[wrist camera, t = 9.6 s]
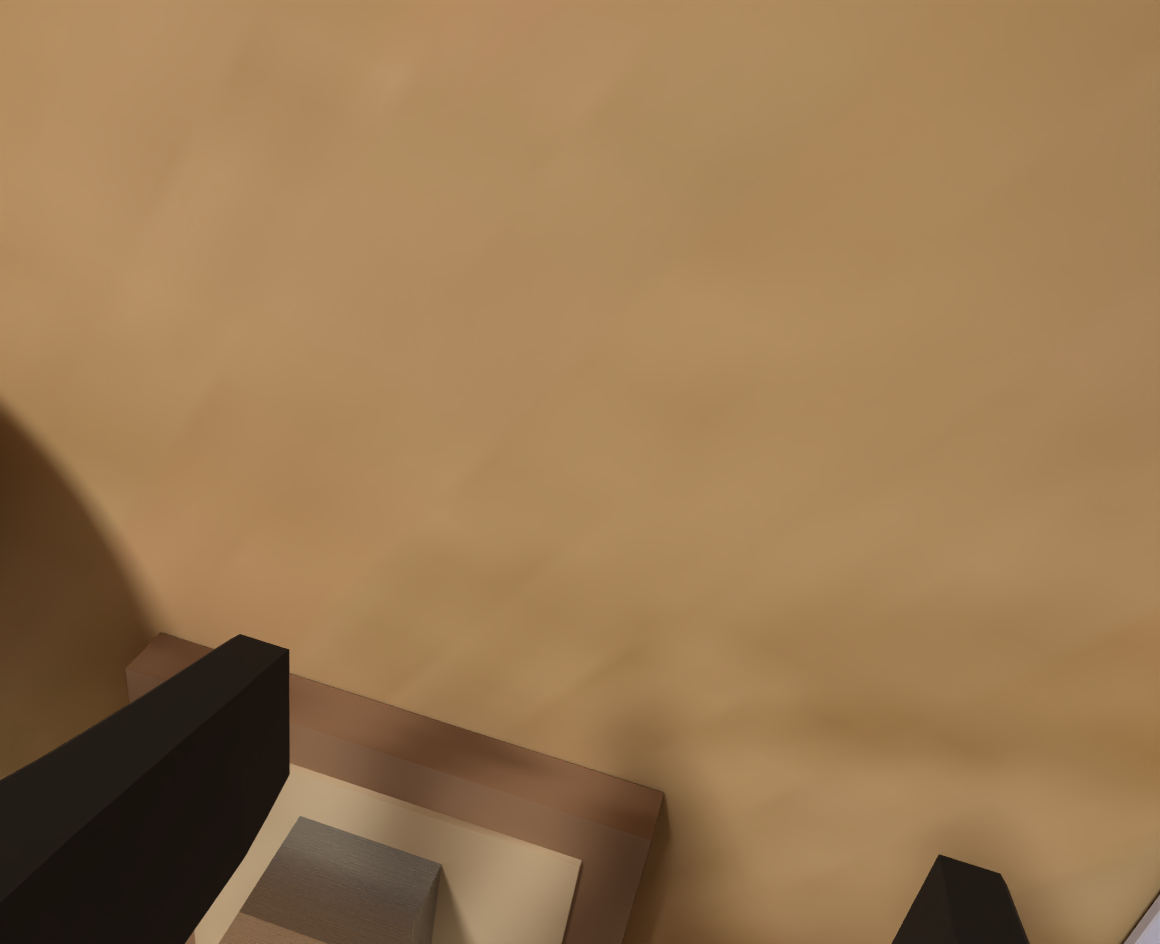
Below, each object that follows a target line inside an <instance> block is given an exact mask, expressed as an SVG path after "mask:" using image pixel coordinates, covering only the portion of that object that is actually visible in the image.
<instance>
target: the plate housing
mask: <svg viewBox="0 0 1160 944" xmlns="http://www.w3.org/2000/svg"><path fill="white" fill-rule="evenodd" d="M440 871H441V864H440V863H437V862H434V861H431V860H428V859H425V858H422V857H419V856H416V855H414V854H411V853H408V852H405V851H402V850H399V849H396V848H393V847H390V846H387V845H384V844H381V843H378V842H375V841H372V840H370V839H367V838H364V837H361V836H358V835H355V834H352V833H349V832H346V831H343V830H340V829H337V828H334V827H331V826H328V825H326V824H323V823H320V822H317V821H314V820H311V819H308V818H305V817H302V816H299V818H298V819H297V821H296V823H295V824H294V826H293V827H292V829H291V830H290V832H289V834H288V835H287V837H286V838H285V840H284V841H283V843H282V845H281V846H280V848H279V849H278V851H277V852H276V854H275V856H274V857H273V859H272V860H271V862H270V863H269V865H268V867H267V868H266V870H265V871H264V873H263V874H262V876H261V878H260V879H259V881H258V882H257V884H256V885H255V887H254V889H253V890H252V892H251V893H250V895H249V897H248V898H247V900H246V901H245V903H244V904H243V906H242V908H241V909H240V911H239V912H238V914H237V915H236V917H235V919H234V920H233V922H232V923H231V925H230V926H229V928H228V930H227V931H226V933H225V934H224V936H223V937H222V939H221V941H220V942H219V944H432V936H433V928H434V920H435V911H436V903H437V895H438V887H439V879H440Z"/></svg>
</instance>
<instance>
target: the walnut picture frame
mask: <svg viewBox="0 0 1160 944" xmlns="http://www.w3.org/2000/svg"><path fill="white" fill-rule="evenodd" d="M213 650H214V649H210V648H207V647H204V646H201V645H198V644H195V643H192V642H189V641H185V640H182V639H179V638H176V637H173V636H170V635H167V634H163V633H159V634H158V635H157V636H156V637H155V638H154V640H153V641H152V642H151V643H150V644H149V645H148V646H147V647H146V648H145V649H144V650H143V651H142V652H141V653H140V654H139V655H138V656H137V657H136V658H135V659H134V660H133V661H132V662H131V663H130V664H129V665H128V666H127V667H126V668H125V672H126V680H127V688H128V696H129V704H130V703H131V702H133V701H135V700H136V699H138V698H139V697H141V696H142V695H144V694H146V693H147V692H149V691H150V690H152V689H153V688H155V687H157V686H158V685H160V684H161V683H163V682H164V681H166V680H168V679H169V678H171V677H172V676H174V675H175V674H177V673H178V672H180V671H182V670H183V669H185V668H186V667H188V666H189V665H191V664H192V663H194V662H195V661H197V660H199V659H200V658H202V657H203V656H205V655H206V654H208V653H209V652H211V651H213ZM289 709H290V775H289V777H288V779H287V781H286V782H285V784H284V786H283V788H282V790H281V792H280V794H279V796H278V798H277V800H276V801H275V803H274V805H273V807H272V809H271V811H270V813H269V815H268V817H267V819H266V820H265V822H264V824H263V826H262V828H261V829H260V831H259V833H258V835H257V837H256V838H255V840H254V842H253V844H252V846H251V847H250V849H249V851H248V853H247V855H246V856H245V858H244V859H243V861H242V862H241V864H240V865H239V867H238V868H237V870H236V871H235V872H234V874H233V875H232V877H231V878H230V880H229V881H228V883H227V884H226V886H225V887H224V888H223V890H222V891H221V893H220V894H219V896H218V897H217V898H216V900H215V901H214V903H213V904H212V906H211V907H210V909H209V910H208V911H207V913H206V914H205V916H204V917H203V919H202V920H201V921H200V923H199V924H198V926H197V927H196V929H195V930H194V931H193V933H192V934H191V936H190V937H189V938H188V940H187V941H186V943H185V944H219V942H220V941H221V939H222V937H223V936H224V934H225V933H226V931H227V930H228V928H229V926H230V925H231V923H232V922H233V920H234V919H235V917H236V915H237V914H238V912H239V911H240V909H241V908H242V906H243V904H244V903H245V901H246V900H247V898H248V897H249V895H250V893H251V892H252V890H253V889H254V887H255V885H256V884H257V882H258V881H259V879H260V878H261V876H262V874H263V873H264V871H265V870H266V868H267V867H268V865H269V863H270V862H271V860H272V859H273V857H274V856H275V854H276V852H277V851H278V849H279V848H280V846H281V845H282V843H283V841H284V840H285V838H286V837H287V835H288V834H289V832H290V830H291V829H292V827H293V826H294V824H295V823H296V821H297V819H298V818H299V816H302V817H305V818H308V819H311V820H314V821H317V822H320V823H323V824H326V825H328V826H331V827H334V828H337V829H340V830H343V831H346V832H349V833H352V834H355V835H358V836H361V837H364V838H367V839H370V840H372V841H375V842H378V843H381V844H384V845H387V846H390V847H393V848H396V849H399V850H402V851H405V852H408V853H411V854H414V855H416V856H419V857H422V858H425V859H428V860H431V861H434V862H437V863H440V864H441V871H440V879H439V887H438V895H437V903H436V911H435V920H434V928H433V936H432V944H622V941H623V937H624V934H625V931H626V927H627V924H628V920H629V917H630V913H631V910H632V906H633V903H634V900H635V896H636V893H637V889H638V886H639V882H640V879H641V875H642V872H643V868H644V865H645V862H646V858H647V855H648V851H649V848H650V844H651V841H652V837H653V833H654V829H655V825H656V821H657V818H658V814H659V810H660V806H661V802H662V798H663V794H664V793H662V792H659V791H656V790H653V789H650V788H647V787H643V786H640V785H637V784H634V783H631V782H628V781H625V780H621V779H618V778H615V777H612V776H609V775H606V774H603V773H600V772H596V771H593V770H590V769H587V768H584V767H581V766H578V765H574V764H571V763H568V762H565V761H562V760H559V759H556V758H552V757H549V756H546V755H543V754H540V753H537V752H534V751H530V750H527V749H524V748H521V747H518V746H515V745H512V744H509V743H505V742H502V741H499V740H496V739H493V738H490V737H487V736H483V735H480V734H477V733H474V732H471V731H468V730H465V729H461V728H458V727H455V726H452V725H449V724H446V723H443V722H440V721H436V720H433V719H430V718H427V717H424V716H421V715H418V714H414V713H411V712H408V711H405V710H402V709H399V708H396V707H392V706H389V705H386V704H383V703H380V702H377V701H374V700H370V699H367V698H364V697H361V696H358V695H355V694H352V693H349V692H345V691H342V690H339V689H336V688H333V687H330V686H327V685H323V684H320V683H317V682H314V681H311V680H308V679H305V678H301V677H298V676H295V675H292V674H289Z"/></svg>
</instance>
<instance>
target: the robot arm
mask: <svg viewBox="0 0 1160 944" xmlns="http://www.w3.org/2000/svg"><path fill="white" fill-rule="evenodd" d="M289 775H290V709H289V649H286V648H282V647H279V646H276V645H273V644H270V643H266V642H263V641H260V640H257V639H254V638H251V637H247V636H244V635H241V634H239V635H237V636H236V637H234V638H232V639H230V640H229V641H227V642H225V643H224V644H222V645H221V646H219V647H217V648H216V649H214V650H213V651H211V652H209V653H208V654H206V655H205V656H203V657H202V658H200V659H199V660H197V661H195V662H194V663H192V664H191V665H189V666H188V667H186V668H185V669H183V670H182V671H180V672H178V673H177V674H175V675H174V676H172V677H171V678H169V679H168V680H166V681H164V682H163V683H161V684H160V685H158V686H157V687H155V688H153V689H152V690H150V691H149V692H147V693H146V694H144V695H142V696H141V697H139V698H138V699H136V700H135V701H133V702H131V703H130V704H128V705H127V706H125V707H124V708H122V709H120V710H119V711H117V712H115V713H114V714H112V715H111V716H109V717H107V718H106V719H104V720H102V721H101V722H99V723H97V724H96V725H94V726H92V727H91V728H89V729H88V730H86V731H84V732H83V733H81V734H79V735H78V736H76V737H74V738H73V739H71V740H69V741H68V742H66V743H64V744H63V745H61V746H60V747H58V748H56V749H55V750H53V751H51V752H49V753H48V754H46V755H44V756H43V757H41V758H39V759H37V760H36V761H34V762H32V763H30V764H29V765H27V766H25V767H23V768H21V769H20V770H18V771H16V772H14V773H12V774H11V775H9V776H7V777H5V778H3V779H2V780H0V944H185V943H186V941H187V940H188V938H189V937H190V936H191V934H192V933H193V931H194V930H195V929H196V927H197V926H198V924H199V923H200V921H201V920H202V919H203V917H204V916H205V914H206V913H207V911H208V910H209V909H210V907H211V906H212V904H213V903H214V901H215V900H216V898H217V897H218V896H219V894H220V893H221V891H222V890H223V888H224V887H225V886H226V884H227V883H228V881H229V880H230V878H231V877H232V875H233V874H234V872H235V871H236V870H237V868H238V867H239V865H240V864H241V862H242V861H243V859H244V858H245V856H246V855H247V853H248V851H249V849H250V847H251V846H252V844H253V842H254V840H255V838H256V837H257V835H258V833H259V831H260V829H261V828H262V826H263V824H264V822H265V820H266V819H267V817H268V815H269V813H270V811H271V809H272V807H273V805H274V803H275V801H276V800H277V798H278V796H279V794H280V792H281V790H282V788H283V786H284V784H285V782H286V781H287V779H288V777H289ZM892 944H1029V941H1028V939H1027V936H1026V934H1025V931H1024V928H1023V926H1022V923H1021V921H1020V918H1019V915H1018V913H1017V910H1016V908H1015V905H1014V903H1013V900H1012V897H1011V895H1010V892H1009V890H1008V887H1007V884H1006V883H1005V881H1004V879H1003V878H1002V876H1001V874H1000V873H996V872H993V871H990V870H987V869H984V868H981V867H977V866H974V865H971V864H968V863H965V862H962V861H958V860H955V859H952V858H949V857H946V856H943V855H938V857H937V859H936V861H935V863H934V865H933V867H932V868H931V870H930V872H929V874H928V876H927V878H926V880H925V882H924V884H923V885H922V887H921V889H920V891H919V893H918V895H917V897H916V899H915V901H914V902H913V904H912V906H911V908H910V910H909V912H908V914H907V916H906V918H905V919H904V921H903V923H902V925H901V927H900V929H899V931H898V933H897V935H896V936H895V938H894V940H893V942H892ZM1124 944H1160V895H1159V896H1158V898H1157V899H1156V900H1155V902H1154V903H1153V904H1152V906H1151V907H1150V909H1149V910H1148V911H1147V913H1146V914H1145V915H1144V917H1143V918H1142V919H1141V921H1140V922H1139V923H1138V925H1137V926H1136V928H1135V929H1134V930H1133V932H1132V933H1131V934H1130V936H1129V937H1128V938H1127V940H1126V941H1125V943H1124Z"/></svg>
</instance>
